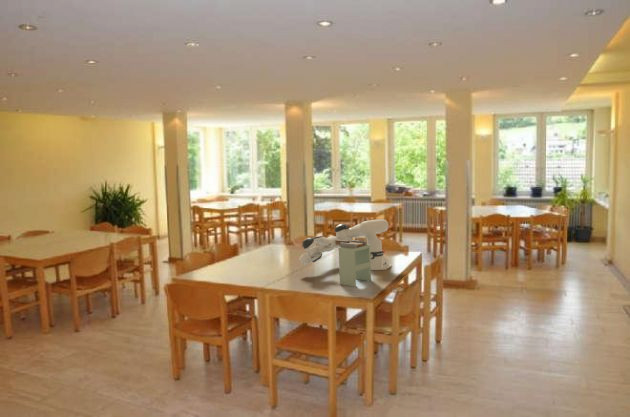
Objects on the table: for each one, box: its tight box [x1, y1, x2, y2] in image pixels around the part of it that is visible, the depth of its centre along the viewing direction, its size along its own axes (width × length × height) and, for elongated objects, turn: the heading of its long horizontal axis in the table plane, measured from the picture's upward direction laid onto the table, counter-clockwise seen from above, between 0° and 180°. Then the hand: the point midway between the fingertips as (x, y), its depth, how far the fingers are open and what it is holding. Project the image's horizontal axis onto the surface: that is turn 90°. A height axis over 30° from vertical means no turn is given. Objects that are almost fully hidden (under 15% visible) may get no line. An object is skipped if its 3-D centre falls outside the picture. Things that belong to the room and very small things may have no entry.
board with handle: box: [335, 240, 364, 247], centre depth 362 cm, size 10×20×3 cm, turn 49°
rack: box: [337, 237, 372, 287], centre depth 361 cm, size 20×13×31 cm, turn 139°
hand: (327, 244), depth 374 cm, fingers open, 8 cm apart
